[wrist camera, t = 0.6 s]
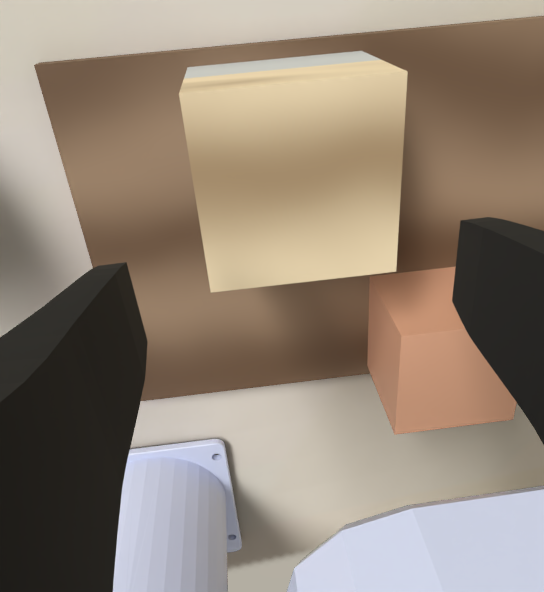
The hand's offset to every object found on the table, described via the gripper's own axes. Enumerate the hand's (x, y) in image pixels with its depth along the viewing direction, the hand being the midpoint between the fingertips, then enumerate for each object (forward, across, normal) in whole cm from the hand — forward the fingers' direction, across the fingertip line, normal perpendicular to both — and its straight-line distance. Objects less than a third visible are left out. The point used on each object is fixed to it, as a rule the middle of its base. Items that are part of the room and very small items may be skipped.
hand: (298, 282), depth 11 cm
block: (+10, -7, +8) cm, 14 cm away
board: (+10, -3, +4) cm, 11 cm away
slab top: (+7, -1, 0) cm, 7 cm away
